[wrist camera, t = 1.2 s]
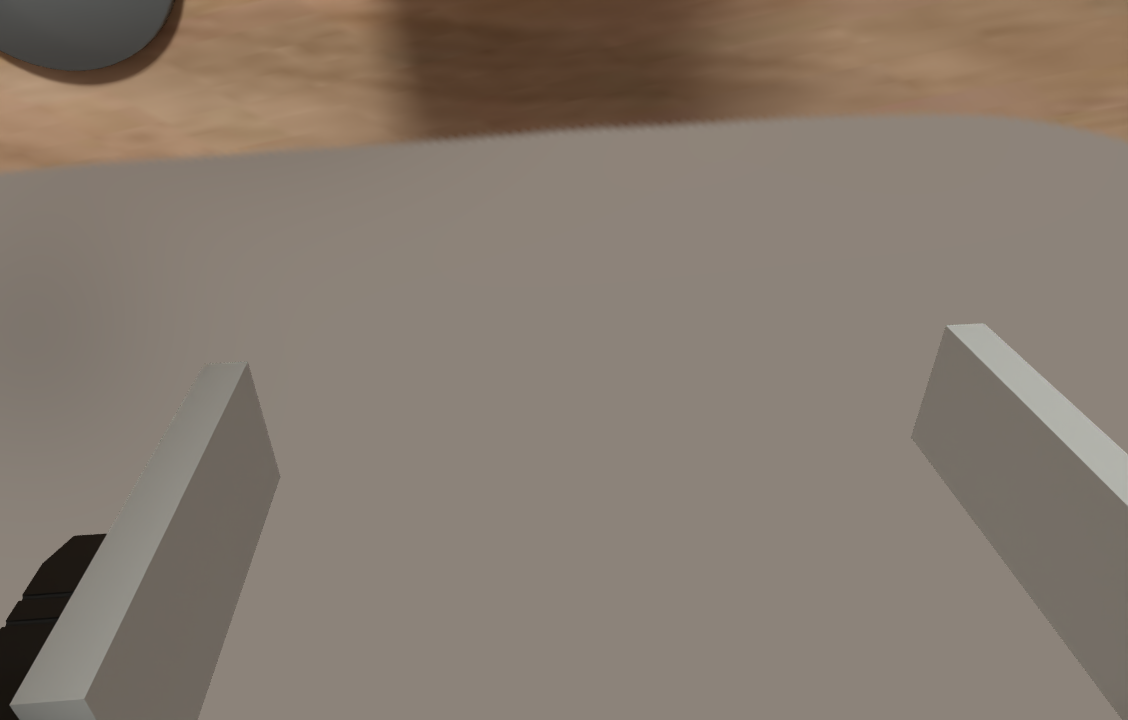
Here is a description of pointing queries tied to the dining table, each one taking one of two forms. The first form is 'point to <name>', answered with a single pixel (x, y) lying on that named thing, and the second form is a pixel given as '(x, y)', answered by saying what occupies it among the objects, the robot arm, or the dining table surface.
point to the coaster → (79, 30)
